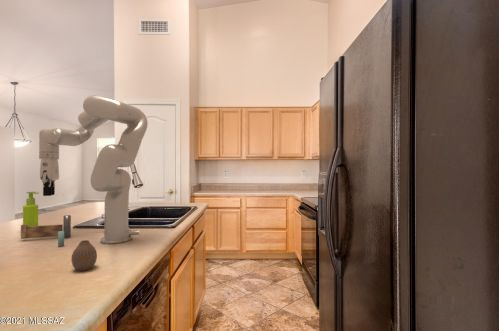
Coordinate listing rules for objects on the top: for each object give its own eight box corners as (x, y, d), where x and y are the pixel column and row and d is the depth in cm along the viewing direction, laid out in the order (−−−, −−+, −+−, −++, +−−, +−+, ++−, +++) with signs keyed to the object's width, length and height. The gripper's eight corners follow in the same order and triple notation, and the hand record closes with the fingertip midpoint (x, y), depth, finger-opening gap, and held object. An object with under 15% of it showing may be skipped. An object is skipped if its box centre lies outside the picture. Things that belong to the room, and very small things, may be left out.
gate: (62, 235, 125) (62, 222, 125) (61, 236, 123) (61, 223, 123) (23, 237, 120) (23, 224, 120) (20, 239, 118) (20, 225, 118)
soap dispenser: (31, 233, 131) (31, 192, 132) (19, 233, 133) (20, 192, 133) (42, 231, 137) (43, 191, 137) (31, 230, 139) (31, 191, 139)
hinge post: (71, 236, 126) (71, 215, 126) (69, 238, 124) (69, 216, 124) (64, 237, 125) (64, 215, 125) (62, 238, 123) (62, 216, 123)
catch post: (64, 245, 112) (64, 230, 112) (63, 246, 110) (63, 231, 110) (59, 245, 112) (59, 231, 112) (57, 247, 110) (57, 232, 110)
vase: (91, 263, 91) (91, 237, 91) (100, 268, 87) (100, 240, 87) (68, 269, 86) (68, 241, 86) (76, 274, 82) (76, 245, 82)
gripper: (52, 155, 121) (52, 196, 121) (64, 156, 136) (63, 193, 136) (32, 155, 119) (31, 197, 118) (46, 156, 134) (46, 194, 134)
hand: (48, 195), depth 127 cm, fingers open, 3 cm apart
